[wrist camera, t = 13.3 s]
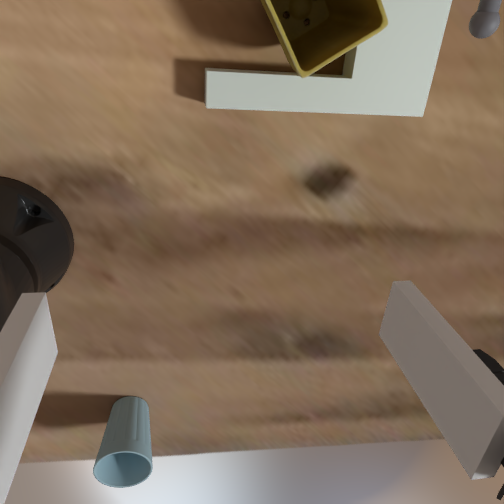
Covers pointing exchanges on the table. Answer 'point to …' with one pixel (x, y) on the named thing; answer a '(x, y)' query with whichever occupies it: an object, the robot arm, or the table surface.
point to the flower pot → (323, 29)
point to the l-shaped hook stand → (358, 68)
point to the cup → (125, 445)
